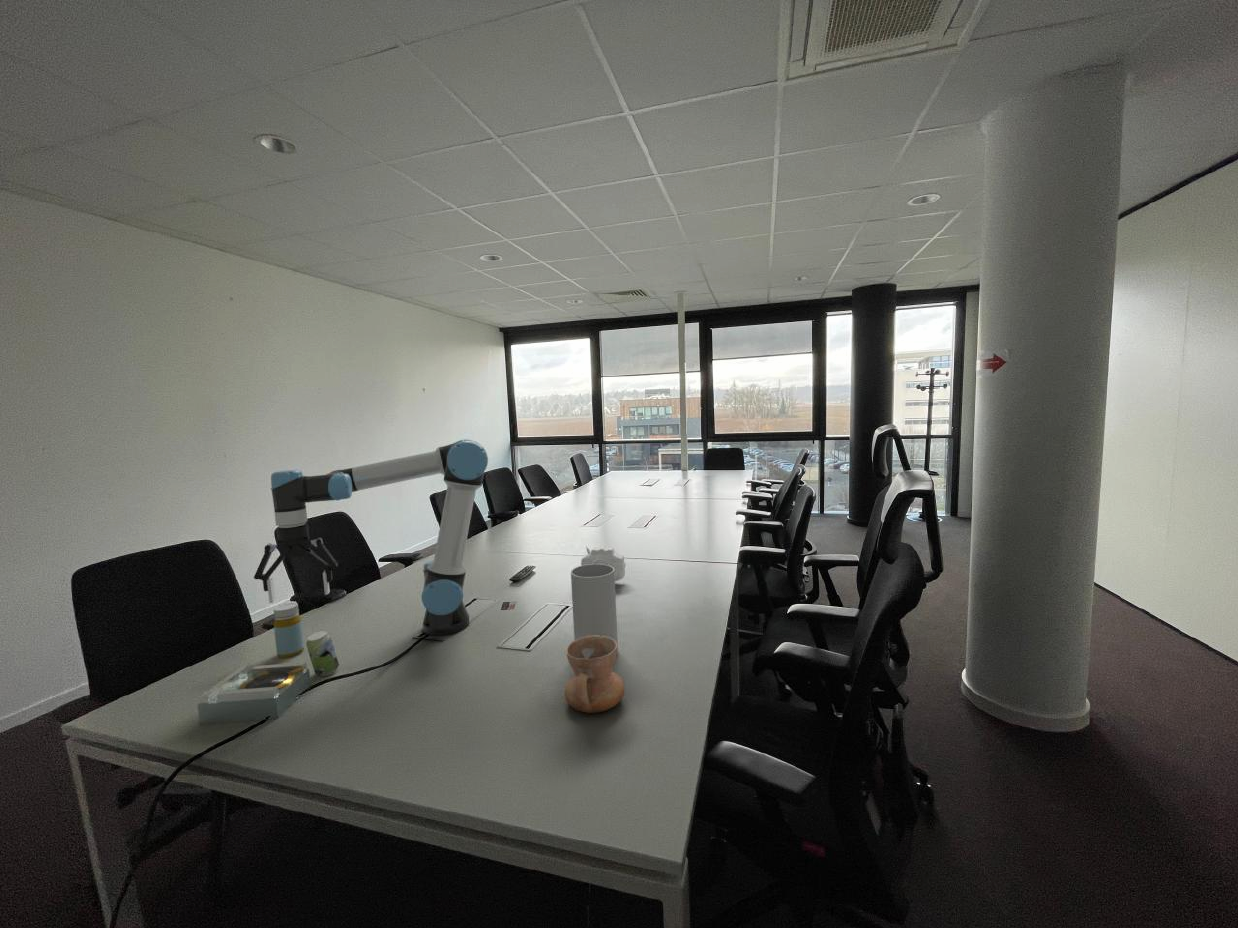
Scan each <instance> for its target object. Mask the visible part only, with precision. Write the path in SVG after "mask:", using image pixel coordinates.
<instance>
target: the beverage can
mask: <svg viewBox="0 0 1238 928" xmlns="http://www.w3.org/2000/svg"><path fill="white" fill-rule="evenodd" d="M305 645H306V649H307V651H308V652H307V653H308V655H309V659H310V662H311V665H312V668H313V672H314V675H315V676H319V677H326V676H329V675H331V674H333V673H334V672H335V671H336V670H337V669H338V668H339V667H340V666H339V665H340V664H339V660H338V656H337V653H336V650H335V645H334V642H333V638H332V635H331V633H329V632H328V631H327V630H319V631H316V632H313V633H311V634H310V635H309V636H308V637H307V641H306V644H305Z"/></svg>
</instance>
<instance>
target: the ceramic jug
mask: <svg viewBox="0 0 1238 928" xmlns="http://www.w3.org/2000/svg"><path fill="white" fill-rule="evenodd" d="M587 648H589V649H595V650H594V651H593V652H592V653H591V655H590V657H589V658H588V659H585V657H584V655H583V653H582V650H583V649H587ZM565 652H566V657H567V660H568V663H569V665H570V668H571V669H572V671H573V673H574V675H575V676H572V677H571V679H570V680H568V682H567V684H566V685H565V689H564V697H565V700H566V702H567V703H568V705H569V706H570V707H571V708H573V709H574V710H575V711H578V712H582V713H586V714H594V713H595V714H597V713H603V712H606V711H607V710H610V709H613V708H614V707H615V706H617V705H618V704H619V703H620V702H621V700H622V699H623V697H624V694H625V690H626V688H625V684H624V680H623V679H622V678H621V676H620V675H619V674H617V673H616V672H614V671H613V669H614V666H615V663H616V659H617V655H618V653H617V643H616V641H615V640H613V639H612V638H610V637H606V636H603V637H600V636H599V635H592V636H585V637H582V638H579V639H577V640H572V641H571V642H570V643H569V644H568V645H567V647H566V650H565Z"/></svg>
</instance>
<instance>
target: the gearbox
mask: <svg viewBox="0 0 1238 928" xmlns="http://www.w3.org/2000/svg"><path fill="white" fill-rule="evenodd" d="M250 670H251V672H250V673H248V667H247V666H240V667H239V668H237V669H236V670H234V671H233V672H231V673H230V674H229V675H227V676H225V677H224V678H223V679H222V680H221V681H219V682H217V683H216V684H214V686H212V687H211V688H209V689H207V690H206V691H205V692H203V693H202V694H201V695H200V702H199V703H197V710H198V717H199V724H200V725H209V724H222V723H224V724H225V723H232V722H233V723H234V722H237V723H238V722H247V721H248V722H249V721H260V720H262V719H263V720H265V719H264V718H266V717H268V716H270V717H269V718H268V719H267V720H269V719H270V720H274V719H279V718H280V717H282V716H283V715H284V713H286V712H287V711H288V710H289V709H290V708H291V707H292V706H293V705H294V704H295V703H296V702H297V701H298V700H299V699H300V698H301V697H302V696H303V695H301V696H298V695H299V694H301V693H302V692H303V691H305V690H306V689H308V688H309V687H310V686H311V687H312V685H311V684H312V683H311V674H310V669H309V668H307V662H294V663H293V662H292V663H281V664H280V663H279V664H268V665H267V664H265V665H255V666H253V667H252V668H251V669H250ZM311 687H310V688H311ZM310 688H309V689H310ZM309 689H308V690H309ZM296 696H298V698H296Z"/></svg>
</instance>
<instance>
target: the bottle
mask: <svg viewBox="0 0 1238 928" xmlns="http://www.w3.org/2000/svg"><path fill="white" fill-rule="evenodd" d="M273 614H274V615H273V616H274V621H273V630H274V639H275V640H274V641H275V650H276V654H277V657H279V658H280V659H288V658H292V657H295V656H298V655H300V654H301V653H302V652H303V651H304V650H305V645H304V644H305V643H304V636H303V626H302V618H301V616H300V614H299V604H298V603H297V602H289V603H284V604H281V605H278V606H275V607H273Z"/></svg>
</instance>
